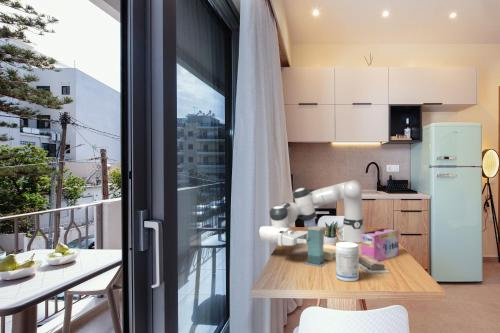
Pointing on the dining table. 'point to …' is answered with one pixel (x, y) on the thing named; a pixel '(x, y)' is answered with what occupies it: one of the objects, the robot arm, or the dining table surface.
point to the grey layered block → (371, 265)
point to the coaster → (315, 264)
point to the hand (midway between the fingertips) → (310, 239)
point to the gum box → (380, 244)
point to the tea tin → (315, 245)
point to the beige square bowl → (329, 252)
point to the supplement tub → (347, 261)
